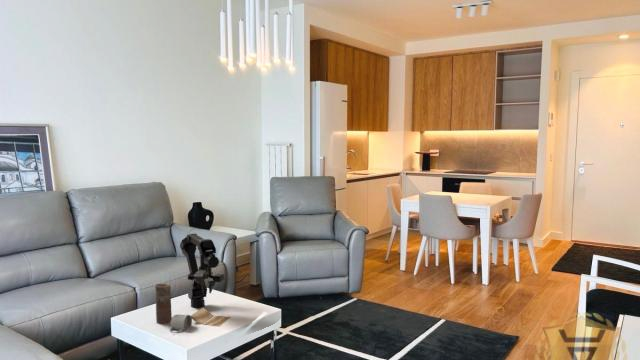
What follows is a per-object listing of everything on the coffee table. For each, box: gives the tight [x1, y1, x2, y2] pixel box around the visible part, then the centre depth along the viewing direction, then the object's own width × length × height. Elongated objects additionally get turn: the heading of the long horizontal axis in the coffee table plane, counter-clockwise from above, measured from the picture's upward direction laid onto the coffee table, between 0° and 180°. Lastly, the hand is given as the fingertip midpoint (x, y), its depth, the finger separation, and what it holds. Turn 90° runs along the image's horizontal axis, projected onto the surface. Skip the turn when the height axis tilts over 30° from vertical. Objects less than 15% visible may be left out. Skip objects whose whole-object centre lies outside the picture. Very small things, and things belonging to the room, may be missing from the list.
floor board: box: [202, 315, 232, 327], centre depth 239 cm, size 9×13×1 cm
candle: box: [154, 283, 173, 325], centre depth 238 cm, size 8×7×20 cm
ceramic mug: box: [169, 314, 193, 336], centre depth 228 cm, size 11×8×8 cm
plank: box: [190, 307, 215, 325], centre depth 241 cm, size 7×12×1 cm
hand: (206, 292), depth 249 cm, fingers open, 4 cm apart
